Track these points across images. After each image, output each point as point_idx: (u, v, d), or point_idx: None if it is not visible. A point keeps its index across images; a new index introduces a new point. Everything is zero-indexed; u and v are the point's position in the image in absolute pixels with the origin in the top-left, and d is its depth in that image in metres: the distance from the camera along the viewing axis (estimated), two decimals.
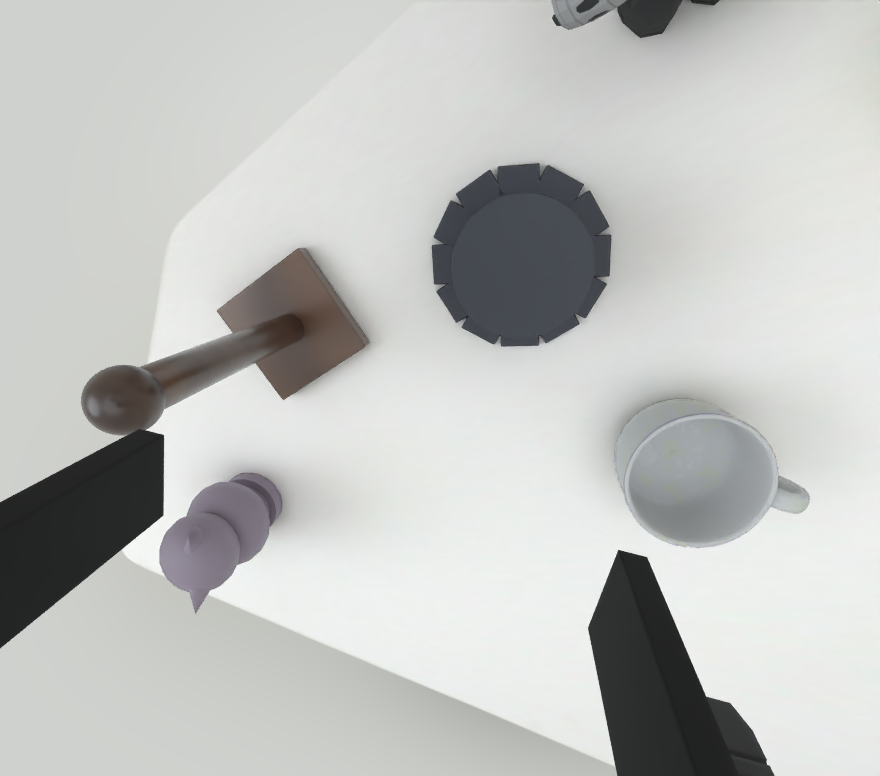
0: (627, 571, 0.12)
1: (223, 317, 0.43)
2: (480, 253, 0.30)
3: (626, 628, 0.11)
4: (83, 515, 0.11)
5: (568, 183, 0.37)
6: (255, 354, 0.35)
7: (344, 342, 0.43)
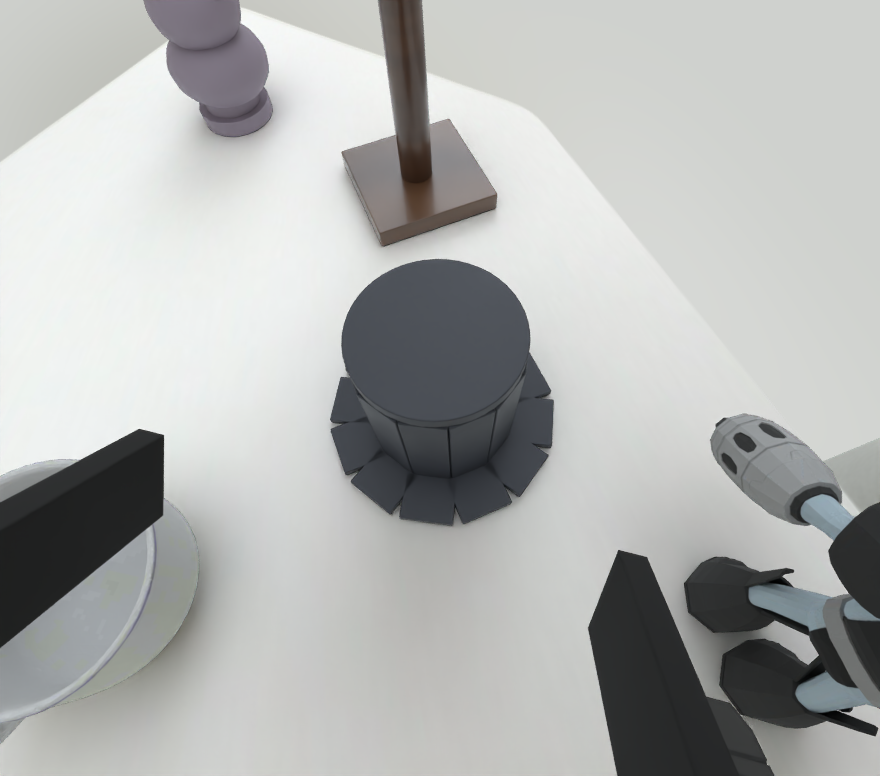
0: (627, 571, 0.12)
1: (441, 122, 0.42)
2: (464, 290, 0.24)
3: (626, 627, 0.11)
4: (83, 515, 0.11)
5: (524, 477, 0.29)
6: (398, 74, 0.31)
7: (388, 215, 0.37)
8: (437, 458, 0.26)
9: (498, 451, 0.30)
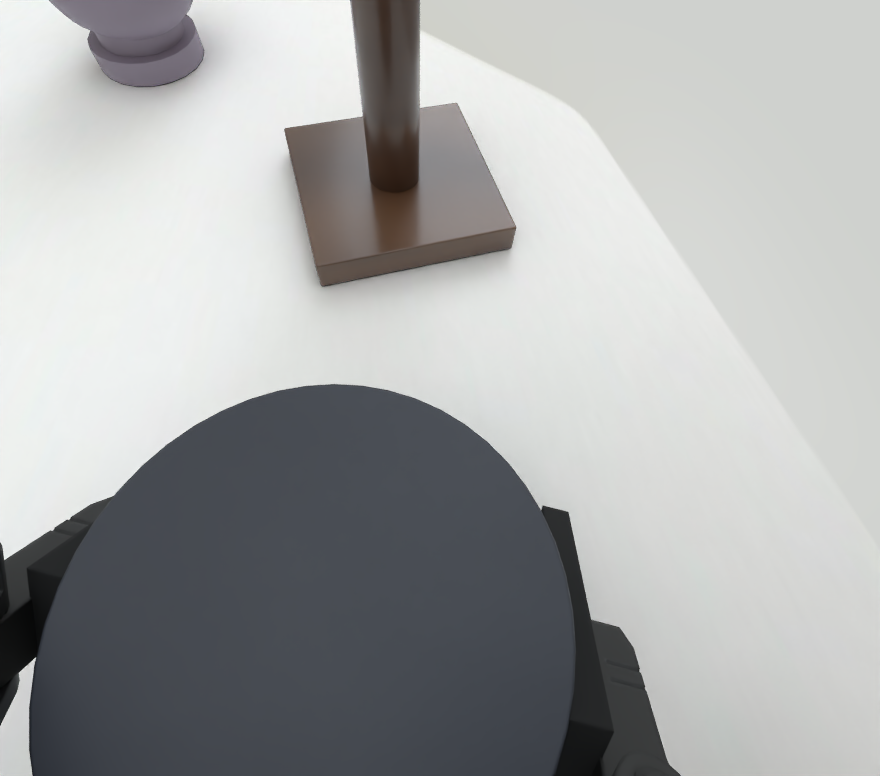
0: None
1: (444, 106, 0.28)
2: (415, 488, 0.09)
3: None
4: None
5: None
6: None
7: (336, 238, 0.23)
8: None
9: None
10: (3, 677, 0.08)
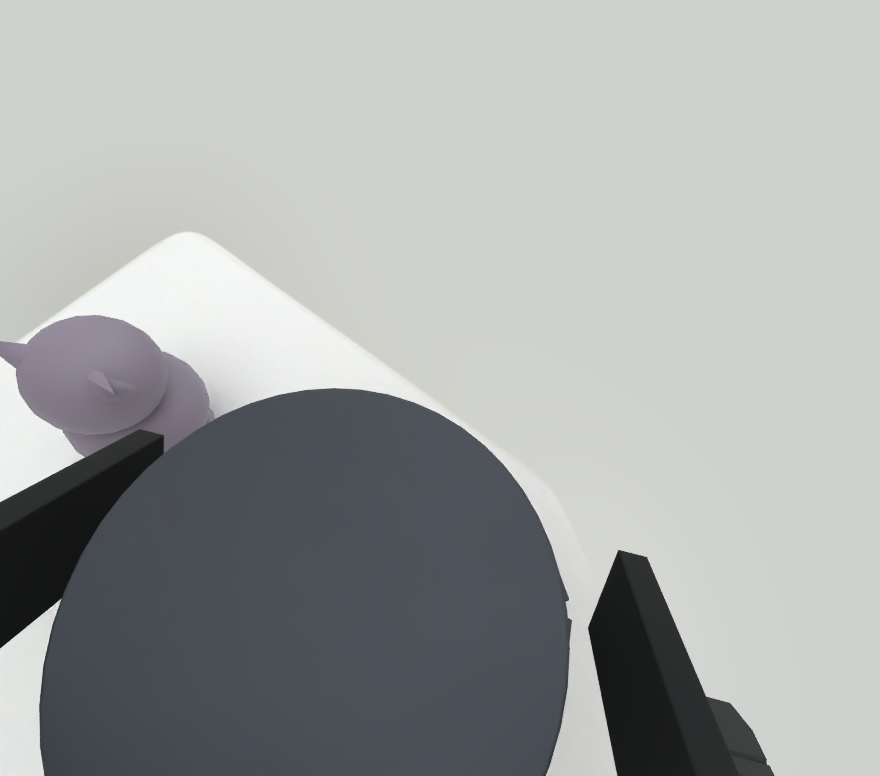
0: (627, 571, 0.12)
1: None
2: (414, 490, 0.09)
3: (626, 627, 0.11)
4: (83, 515, 0.11)
5: None
6: None
7: None
8: None
9: None
10: None
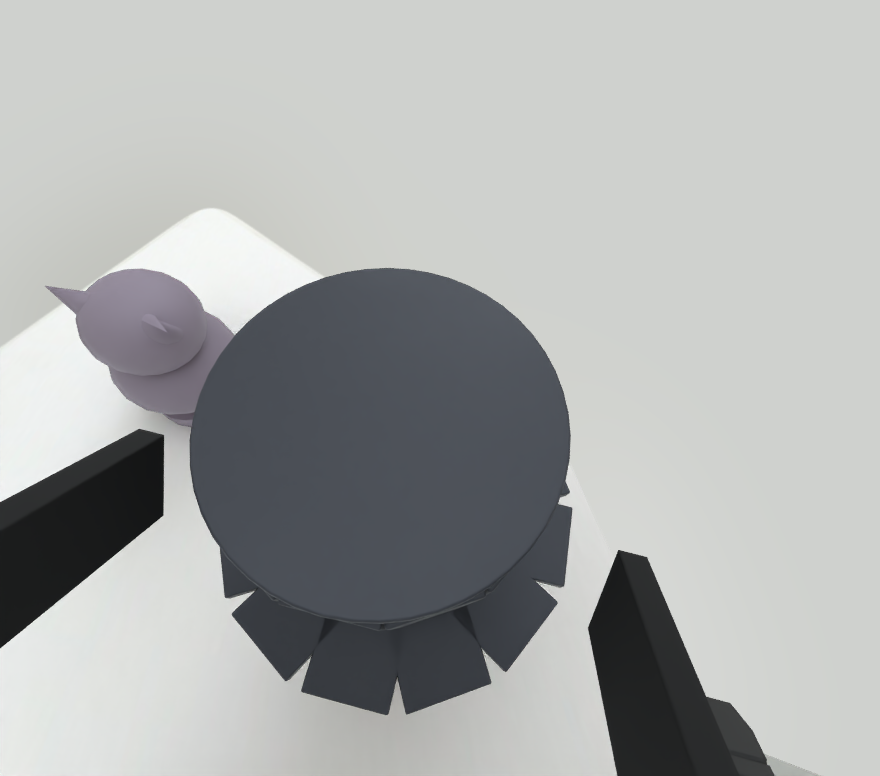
0: (627, 571, 0.12)
1: None
2: (451, 335, 0.13)
3: (626, 627, 0.11)
4: (83, 515, 0.11)
5: (515, 638, 0.18)
6: None
7: None
8: None
9: None
10: None
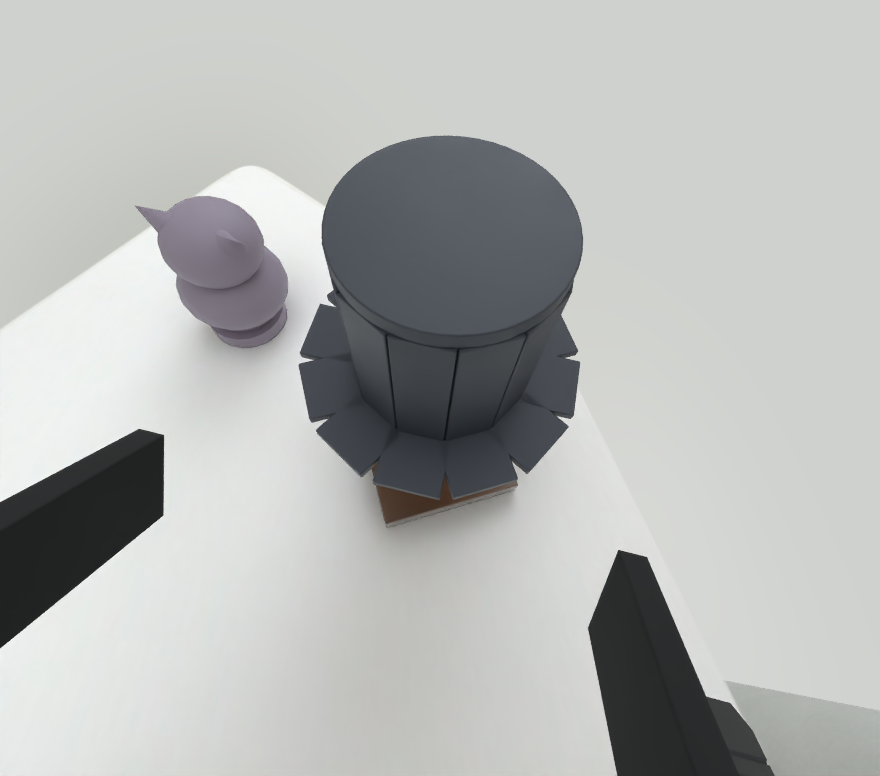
0: (627, 571, 0.12)
1: None
2: (497, 177, 0.17)
3: (626, 628, 0.11)
4: (83, 515, 0.11)
5: (536, 449, 0.23)
6: None
7: (397, 499, 0.34)
8: (432, 404, 0.19)
9: (506, 415, 0.24)
10: None
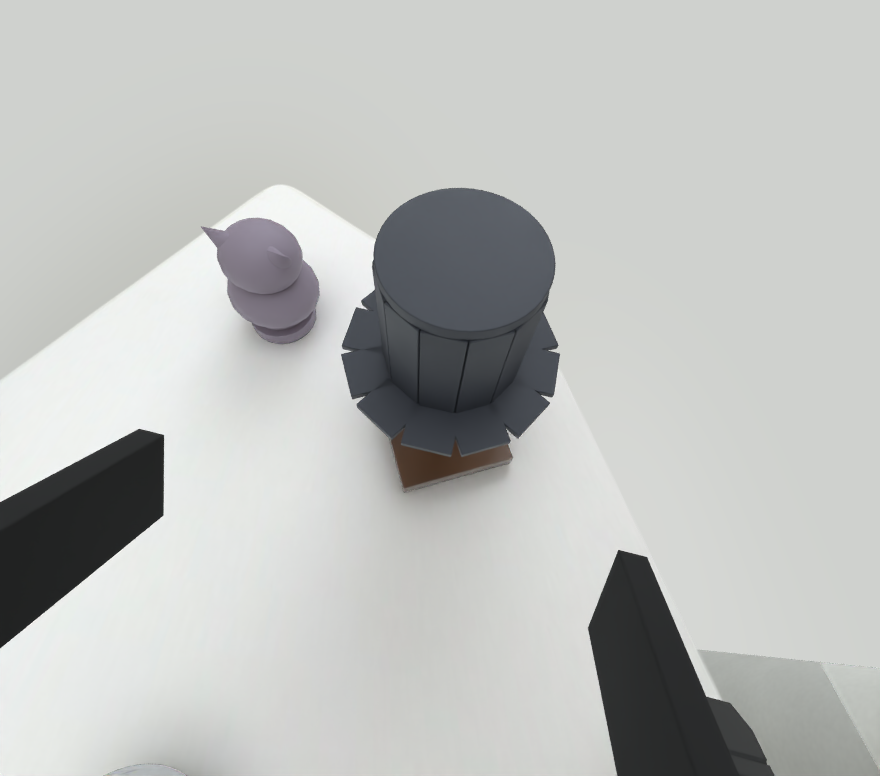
0: (627, 571, 0.12)
1: None
2: (496, 220, 0.25)
3: (626, 628, 0.11)
4: (83, 515, 0.11)
5: (524, 419, 0.30)
6: None
7: (413, 468, 0.41)
8: (448, 382, 0.27)
9: (502, 393, 0.31)
10: None
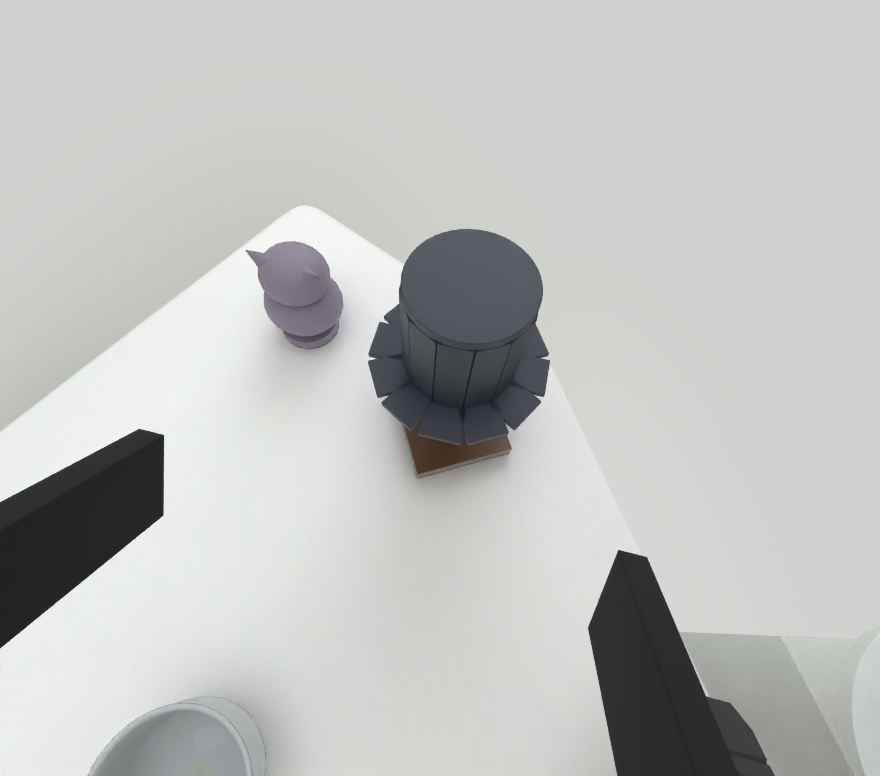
0: (627, 571, 0.12)
1: None
2: (496, 255, 0.31)
3: (626, 628, 0.11)
4: (83, 515, 0.11)
5: (520, 415, 0.37)
6: None
7: (425, 457, 0.48)
8: (457, 383, 0.33)
9: (502, 393, 0.37)
10: None
